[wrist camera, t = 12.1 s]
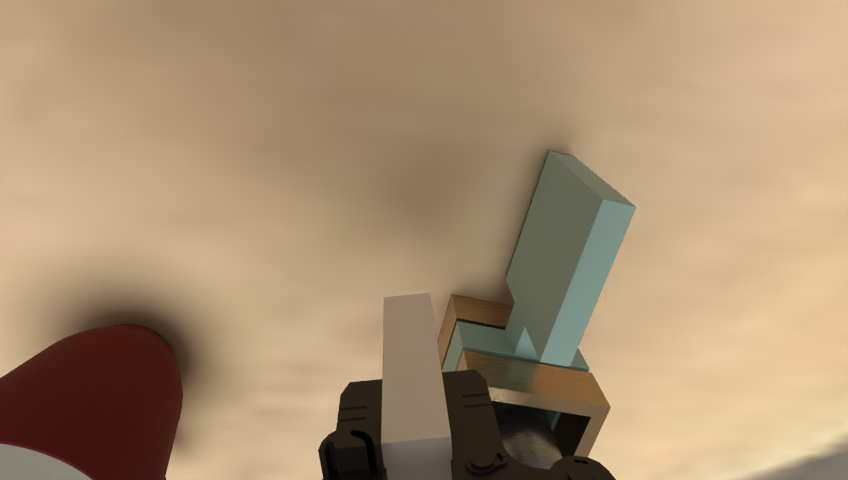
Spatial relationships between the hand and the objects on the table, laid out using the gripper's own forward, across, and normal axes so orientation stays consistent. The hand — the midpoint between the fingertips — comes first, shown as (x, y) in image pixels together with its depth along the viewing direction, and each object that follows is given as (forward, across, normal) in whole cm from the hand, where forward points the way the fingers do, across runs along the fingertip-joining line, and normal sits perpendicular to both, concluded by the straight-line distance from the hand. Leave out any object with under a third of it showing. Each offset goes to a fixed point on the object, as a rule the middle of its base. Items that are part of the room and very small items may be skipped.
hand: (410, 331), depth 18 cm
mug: (+9, -14, -6) cm, 18 cm away
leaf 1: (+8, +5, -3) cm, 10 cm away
